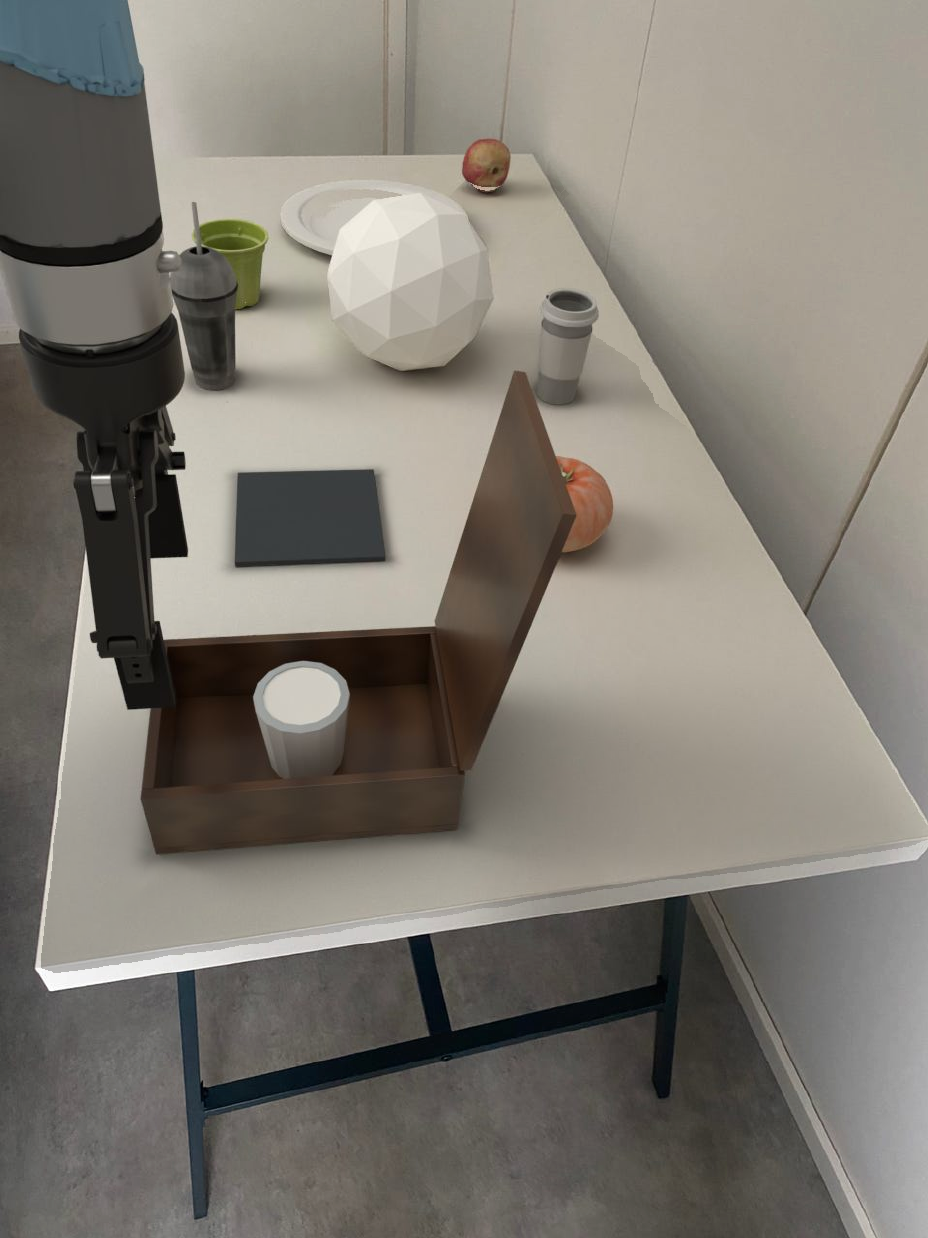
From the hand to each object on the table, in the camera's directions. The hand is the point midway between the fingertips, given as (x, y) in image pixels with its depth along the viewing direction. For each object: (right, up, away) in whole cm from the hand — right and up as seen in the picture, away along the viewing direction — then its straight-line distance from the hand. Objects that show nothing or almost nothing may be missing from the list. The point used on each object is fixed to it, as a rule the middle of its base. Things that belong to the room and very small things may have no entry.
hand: (160, 623), depth 62 cm
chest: (+7, -11, +12) cm, 18 cm away
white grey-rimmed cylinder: (+8, -10, +12) cm, 17 cm away
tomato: (+28, +9, +35) cm, 46 cm away
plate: (+6, +59, +83) cm, 102 cm away
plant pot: (-10, +42, +64) cm, 78 cm away
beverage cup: (-9, +28, +50) cm, 58 cm away
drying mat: (+4, +10, +33) cm, 35 cm away
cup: (+31, +27, +54) cm, 67 cm away
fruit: (+23, +71, +97) cm, 123 cm away
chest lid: (+21, +3, +1) cm, 21 cm away
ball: (+13, +33, +57) cm, 67 cm away
